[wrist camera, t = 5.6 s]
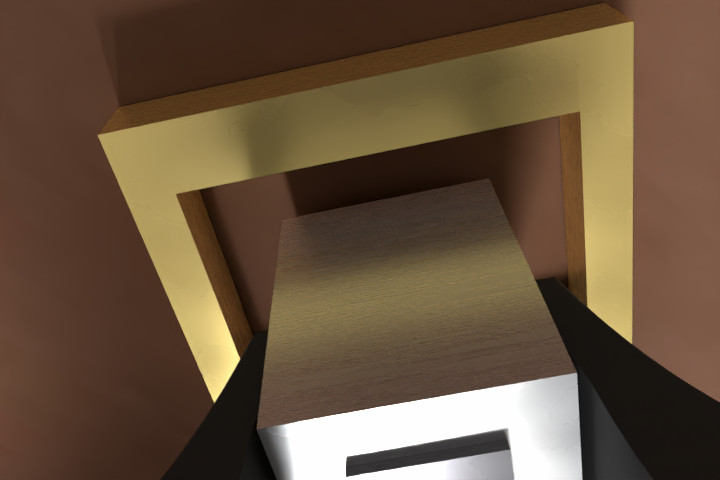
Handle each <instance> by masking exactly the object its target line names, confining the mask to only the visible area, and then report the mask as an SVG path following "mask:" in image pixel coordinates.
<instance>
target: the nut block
mask: <svg viewBox="0 0 720 480" xmlns="http://www.w3.org/2000/svg"><path fill="white" fill-rule="evenodd" d="M257 432H258V434H259V437H260V439H261V442H262V444H263V447H264V449H265V452H266V454H267V457H268V459H269V462H270V464H271V466H272V469H273V471H274V474H275V476H276V479H277V480H582V461H581V441H580V422H579V402H578V383H577V372H576V369H575V367H574V365H573V363H572V361H571V358H570V356H569V354H568V352H567V350H566V347H565V345H564V343H563V341H562V339H561V336H560V334H559V332H558V330H557V327H556V325H555V323H554V321H553V319H552V316H551V314H550V312H549V310H548V308H547V305H546V303H545V301H544V299H543V297H542V294H541V292H540V290H539V288H538V286H537V283H536V281H535V279H534V277H533V275H532V272H531V270H530V268H529V266H528V263H527V261H526V259H525V257H524V255H523V252H522V250H521V248H520V246H519V244H518V241H517V239H516V237H515V235H514V233H513V230H512V228H511V226H510V224H509V222H508V219H507V217H506V215H505V213H504V210H503V208H502V206H501V204H500V202H499V199H498V197H497V195H496V193H495V191H494V188H493V186H492V184H491V182H490V180H489V178H488V179H483V180H478V181H473V182H468V183H463V184H458V185H453V186H448V187H443V188H438V189H433V190H428V191H423V192H418V193H413V194H408V195H403V196H398V197H393V198H388V199H383V200H378V201H373V202H368V203H363V204H358V205H353V206H348V207H343V208H338V209H333V210H328V211H323V212H318V213H313V214H308V215H303V216H297V217H292V218H287V219H282V223H281V232H280V240H279V248H278V257H277V265H276V273H275V281H274V290H273V298H272V306H271V314H270V323H269V331H268V339H267V347H266V356H265V364H264V372H263V380H262V389H261V397H260V405H259V413H258V422H257Z"/></svg>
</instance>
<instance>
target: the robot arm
mask: <svg viewBox="0 0 720 480" xmlns="http://www.w3.org/2000/svg"><path fill="white" fill-rule="evenodd" d="M535 281H536V283H537V286H538V288H539V290H540V292H541V294H542V297H543V299H544V301H545V303H546V305H547V308H548V310H549V312H550V314H551V316H552V319H553V321H554V323H555V325H556V327H557V330H558V332H559V334H560V336H561V339H562V341H563V343H564V345H565V347H566V350H567V352H568V354H569V356H570V358H571V361H572V363H573V365H574V367H575V369H576V372H577V383H578V402H579V422H580V441H581V461H582V480H720V402H718V401H716V400H715V399H713V398H711V397H709V396H708V395H706V394H704V393H703V392H701V391H699V390H698V389H696V388H694V387H693V386H691V385H690V384H688V383H686V382H685V381H683V380H682V379H680V378H679V377H677V376H676V375H674V374H673V373H671V372H670V371H668V370H667V369H665V368H664V367H663V366H661V365H660V364H658V363H657V362H656V361H654V360H653V359H651V358H650V357H649V356H647V355H646V354H644V353H643V352H642V351H640V350H639V349H638V348H636V347H635V346H634V345H633V344H631V343H630V342H629V341H627V340H626V339H625V338H624V337H623V336H621V335H620V334H619V333H618V332H616V331H615V330H614V329H613V328H611V327H610V326H609V325H608V324H606V323H605V322H604V321H603V320H602V319H601V318H599V317H598V316H597V315H596V314H595V313H594V312H593V311H591V310H590V309H589V308H588V307H587V306H586V305H585V304H584V303H583V302H581V301H580V300H579V299H578V298H577V297H576V296H575V295H574V294H573V293H572V292H571V291H570V290H569V289H568V288H567V287H565V286H564V285H563V284H562V283H561V282H560V281H559V280H558V279H556V278H555V277H551V278H545V279H540V280H535ZM268 331H269V330H268ZM268 331H263V332H257V333H255V335H254V336H253V337H252V339H251V341H250V343H249V344H248V346H247V348H246V350H245V352H244V353H243V355H242V357H241V359H240V361H239V362H238V364H237V366H236V368H235V369H234V371H233V373H232V375H231V376H230V378H229V380H228V382H227V383H226V385H225V387H224V388H223V390H222V392H221V393H220V395H219V396H218V398H217V400H216V401H215V403H214V405H213V406H212V408H211V409H210V411H209V413H208V414H207V416H206V417H205V419H204V420H203V422H202V423H201V425H200V426H199V428H198V429H197V431H196V432H195V434H194V435H193V436H192V438H191V439H190V441H189V442H188V444H187V445H186V447H185V448H184V450H183V451H182V452H181V454H180V455H179V456H178V458H177V459H176V460H175V462H174V463H173V464H172V466H171V467H170V468H169V469H168V471H167V472H166V473H165V475H164V476H163V477H162V478H161V479H160V480H277V479H276V476H275V474H274V471H273V469H272V466H271V464H270V462H269V459H268V457H267V454H266V452H265V449H264V447H263V444H262V442H261V439H260V437H259V434H258V432H257V422H258V413H259V405H260V397H261V389H262V380H263V372H264V364H265V356H266V347H267V339H268Z"/></svg>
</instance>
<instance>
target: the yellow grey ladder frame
mask: <svg viewBox="0 0 720 480" xmlns="http://www.w3.org/2000/svg"><path fill="white" fill-rule="evenodd" d="M633 45H634V21H633V20H631V19H630V18H628V17H626V16H625V15H623V14H622V13H620V12H619V11H617V10H615V9H614V8H612V7H611V6H609V5H608V4H606V3H600V4H596V5H591V6H586V7H582V8H577V9H572V10H568V11H563V12H558V13H554V14H549V15H545V16H540V17H535V18H531V19H526V20H521V21H517V22H512V23H507V24H503V25H498V26H493V27H489V28H484V29H479V30H475V31H470V32H466V33H461V34H456V35H452V36H447V37H442V38H438V39H433V40H428V41H424V42H419V43H414V44H410V45H405V46H401V47H396V48H391V49H387V50H382V51H377V52H373V53H368V54H363V55H359V56H354V57H349V58H345V59H340V60H336V61H331V62H326V63H322V64H317V65H312V66H308V67H303V68H298V69H294V70H289V71H284V72H280V73H275V74H271V75H266V76H261V77H257V78H252V79H247V80H243V81H238V82H233V83H229V84H224V85H219V86H215V87H210V88H205V89H201V90H196V91H192V92H187V93H182V94H178V95H173V96H168V97H164V98H159V99H154V100H150V101H145V102H140V103H136V104H131V105H127V106H122V107H118V109H117V110H116V111H115V113H114V114H113V115H112V117H111V118H110V119H109V121H108V122H107V123H106V125H105V126H104V127H103V129H102V130H101V131H100V133H99V134H98V137H99V139H100V142H101V144H102V146H103V149H104V151H105V153H106V156H107V158H108V160H109V162H110V165H111V167H112V169H113V172H114V174H115V176H116V178H117V181H118V183H119V185H120V188H121V190H122V192H123V195H124V197H125V199H126V201H127V204H128V206H129V208H130V211H131V213H132V215H133V218H134V220H135V222H136V224H137V227H138V229H139V231H140V234H141V236H142V238H143V240H144V243H145V245H146V247H147V250H148V252H149V254H150V257H151V259H152V261H153V263H154V266H155V268H156V270H157V273H158V275H159V277H160V279H161V282H162V284H163V286H164V289H165V291H166V293H167V296H168V298H169V300H170V302H171V305H172V307H173V309H174V312H175V314H176V316H177V319H178V321H179V323H180V325H181V328H182V330H183V332H184V335H185V337H186V339H187V341H188V344H189V346H190V348H191V351H192V353H193V355H194V358H195V360H196V362H197V364H198V367H199V369H200V371H201V374H202V376H203V378H204V381H205V383H206V385H207V387H208V390H209V392H210V394H211V397H212V399H213V401H214V403H215V401H216V400H217V398H218V396H219V395H220V393H221V392H222V390H223V388H224V387H225V385H226V383H227V382H228V380H229V378H230V376H231V375H232V373H233V371H234V369H235V368H236V366H237V364H238V362H239V361H240V359H241V357H242V355H243V353H244V352H245V350H246V348H247V346H248V344H249V343H250V341H251V339H252V337H253V334H252V332H251V329H250V326H249V324H248V321H247V318H246V316H245V313H244V310H243V307H242V305H241V302H240V299H239V297H238V294H237V291H236V288H235V286H234V283H233V280H232V278H231V275H230V272H229V269H228V267H227V264H226V261H225V259H224V256H223V253H222V250H221V248H220V245H219V242H218V240H217V237H216V234H215V231H214V229H213V226H212V223H211V221H210V218H209V215H208V212H207V210H206V207H205V204H204V202H203V199H202V196H201V193H200V191H199V189H203V188H208V187H213V186H218V185H222V184H227V183H232V182H237V181H242V180H247V179H252V178H257V177H262V176H266V175H271V174H276V173H281V172H286V171H291V170H296V169H301V168H306V167H310V166H315V165H320V164H325V163H330V162H335V161H340V160H345V159H350V158H354V157H359V156H364V155H369V154H374V153H379V152H384V151H389V150H394V149H398V148H403V147H408V146H413V145H418V144H423V143H428V142H433V141H438V140H443V139H447V138H452V137H457V136H462V135H467V134H472V133H477V132H482V131H487V130H491V129H496V128H501V127H506V126H511V125H516V124H521V123H526V122H531V121H535V120H540V119H545V118H550V117H555V116H559V121H560V139H561V157H562V176H563V194H564V212H565V230H566V248H567V266H568V285H569V290H570V291H571V292H572V293H573V294H574V295H575V296H576V297H577V298H578V299H579V300H580V301H581V302H583V303H584V304H585V305H586V306H587V307H588V308H589V309H590V310H591V311H593V312H594V313H595V314H596V315H597V316H598V317H599V318H601V319H602V320H603V321H604V322H605V323H606V324H608V325H609V326H610V327H611V328H613V329H614V330H615V331H616V332H618V333H619V334H620V335H621V336H623V337H624V338H625V339H626V340H627V341H629V342H630V343H631V344H632V252H633Z"/></svg>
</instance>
